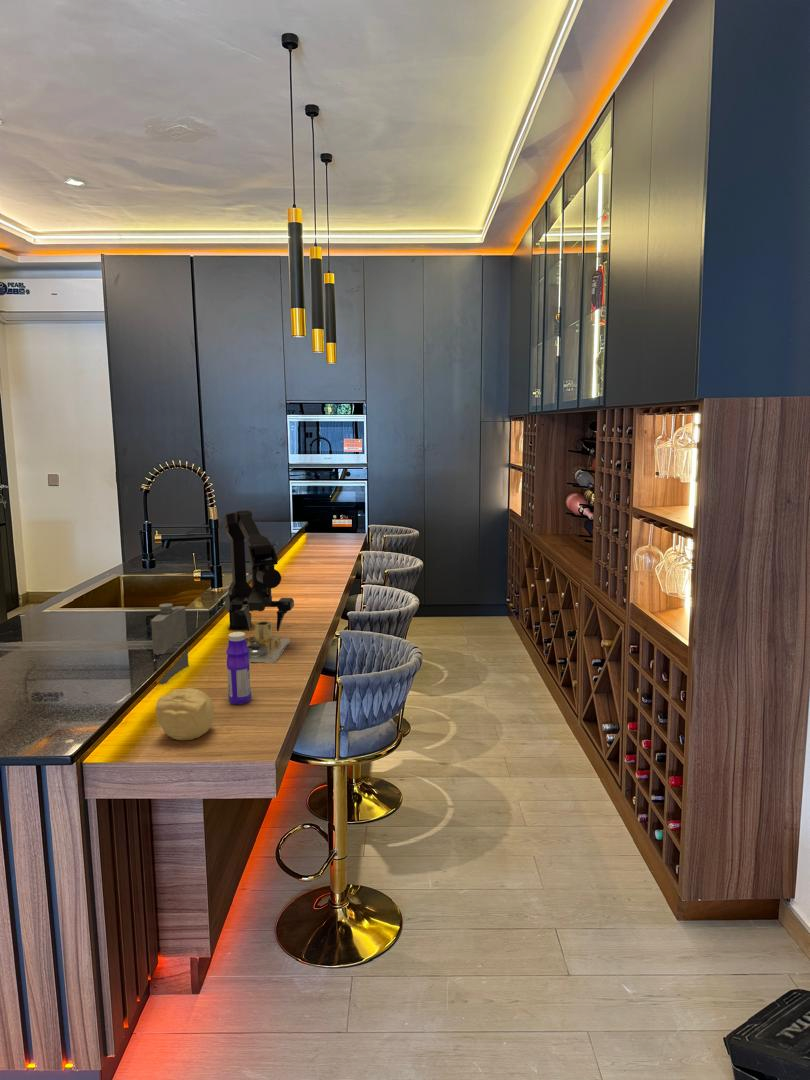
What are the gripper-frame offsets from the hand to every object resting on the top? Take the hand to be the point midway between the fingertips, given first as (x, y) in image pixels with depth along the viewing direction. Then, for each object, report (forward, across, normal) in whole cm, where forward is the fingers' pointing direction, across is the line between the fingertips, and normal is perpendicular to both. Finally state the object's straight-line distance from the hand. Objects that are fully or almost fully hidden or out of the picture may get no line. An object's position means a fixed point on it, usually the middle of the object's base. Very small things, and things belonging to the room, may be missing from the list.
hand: (263, 630), depth 219 cm
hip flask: (+6, -20, -24) cm, 32 cm away
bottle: (+6, +5, -42) cm, 43 cm away
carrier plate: (+5, 0, -4) cm, 7 cm away
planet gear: (+4, 0, 0) cm, 4 cm away
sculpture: (+6, -1, -62) cm, 63 cm away
